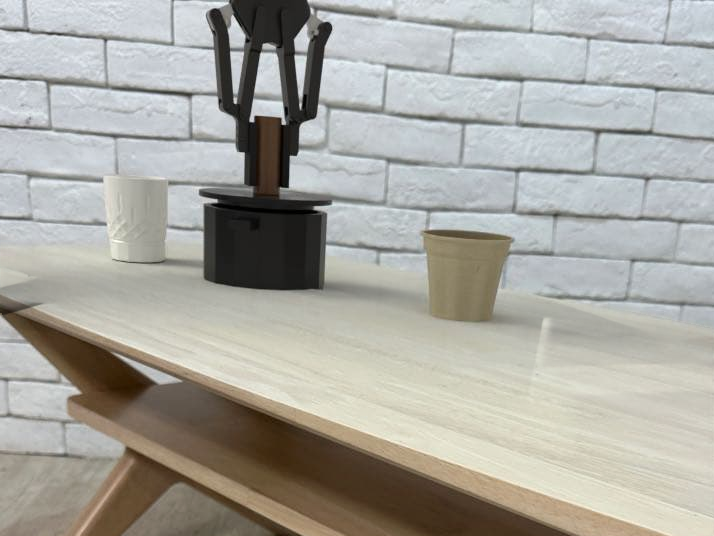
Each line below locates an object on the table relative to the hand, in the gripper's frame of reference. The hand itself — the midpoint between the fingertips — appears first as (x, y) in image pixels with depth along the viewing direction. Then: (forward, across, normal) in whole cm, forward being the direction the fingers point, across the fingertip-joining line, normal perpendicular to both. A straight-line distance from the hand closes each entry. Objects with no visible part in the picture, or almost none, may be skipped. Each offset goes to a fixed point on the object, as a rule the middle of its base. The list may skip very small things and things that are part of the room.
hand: (266, 185), depth 111 cm
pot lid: (+1, 0, 0) cm, 1 cm away
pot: (+11, 0, 0) cm, 11 cm away
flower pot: (+11, +15, -22) cm, 29 cm away
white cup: (+11, -12, +20) cm, 25 cm away
